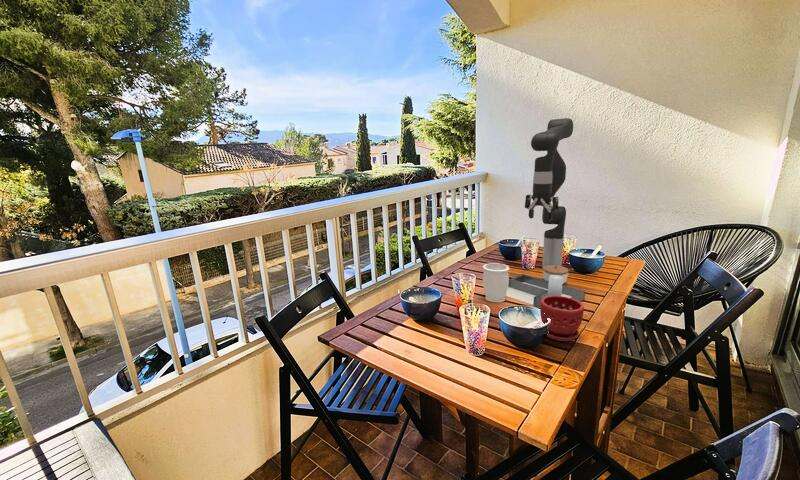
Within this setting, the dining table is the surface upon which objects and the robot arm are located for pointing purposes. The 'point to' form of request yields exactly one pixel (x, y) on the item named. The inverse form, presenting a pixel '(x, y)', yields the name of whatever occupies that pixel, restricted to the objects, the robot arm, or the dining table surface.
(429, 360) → the dining table surface
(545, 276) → the lidded jar
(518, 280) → the channel walls
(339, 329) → the dining table surface
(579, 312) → the plant pot
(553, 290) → the peg
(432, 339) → the dining table surface
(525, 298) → the channel board
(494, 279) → the jar
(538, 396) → the dining table surface
